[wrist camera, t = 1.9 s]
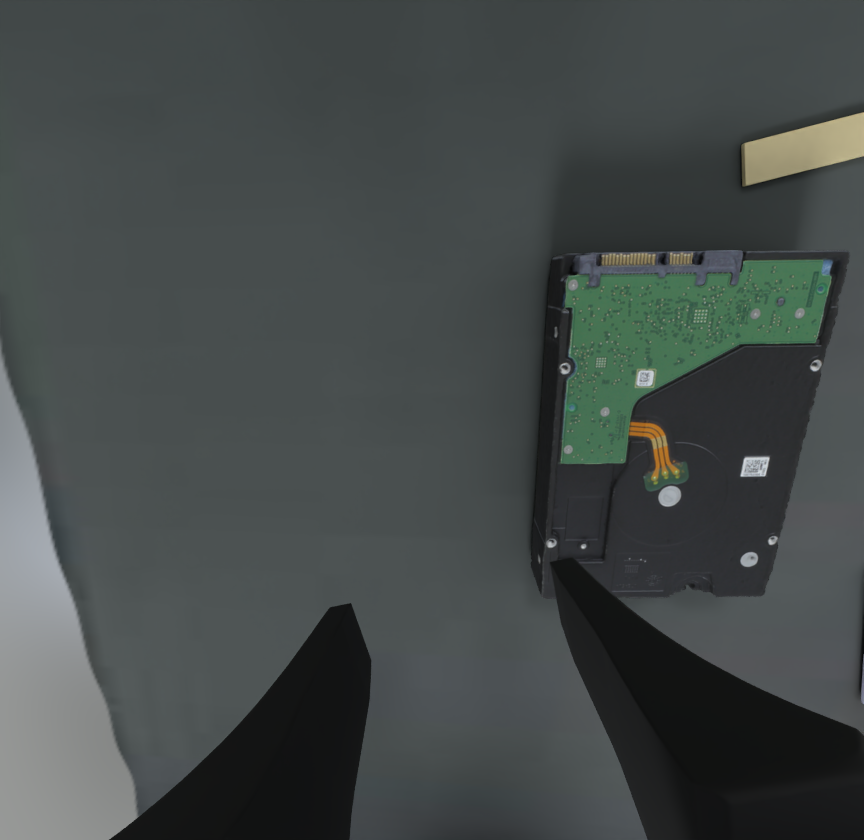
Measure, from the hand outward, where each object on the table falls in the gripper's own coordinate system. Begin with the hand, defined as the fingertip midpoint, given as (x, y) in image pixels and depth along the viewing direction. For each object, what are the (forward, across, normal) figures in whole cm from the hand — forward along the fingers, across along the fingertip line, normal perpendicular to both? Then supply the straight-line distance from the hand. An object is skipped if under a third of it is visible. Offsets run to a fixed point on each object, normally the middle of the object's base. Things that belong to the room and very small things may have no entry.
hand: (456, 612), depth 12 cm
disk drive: (+10, -10, 0) cm, 14 cm away
